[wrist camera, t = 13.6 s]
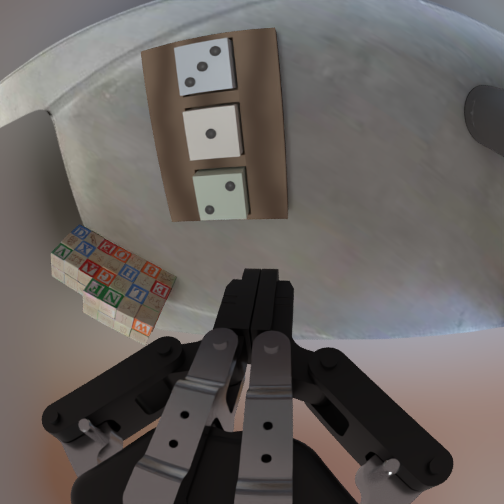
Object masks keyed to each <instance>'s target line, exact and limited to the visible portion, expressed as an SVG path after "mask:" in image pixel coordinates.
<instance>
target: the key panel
mask: <svg viewBox="0 0 504 504" xmlns="http://www.w3.org/2000/svg"><path fill="white" fill-rule="evenodd" d="M222 38H228V39H230V40H231V41H233V48H234V57H235V66H236V76H237V85H238V87H237V88H230V89H221V90H213V91H206V92H200V93H194V94H188V95H182V96H180V91H179V84H178V76H177V69H176V60H175V52H174V48H176V47H180V46H184V45H189V44H194V43H199V42H204V41H210V40H216V39H222ZM141 57H142V65H143V73H144V80H145V87H146V94H147V100H148V106H149V112H150V118H151V124H152V130H153V135H154V140H155V146H156V151H157V156H158V161H159V166H160V171H161V175H162V180H163V184H164V189H165V193H166V198H167V202H168V206H169V211H170V215H171V219H172V222H180V221H206V220H200V215H199V210H198V205H197V199H196V194H195V188H194V183H193V176H194V174H195V173H196V172H197V171H198V170H199V169H210V168H223V167H238V166H246V174H247V184H248V193H249V203H250V210H249V213H248V216H247V219H288V194H287V171H286V151H285V134H284V118H283V104H282V91H281V78H280V67H279V55H278V45H277V35H276V30H275V28H263V29H251V30H242V31H234V32H226V33H220V34H213V35H208V36H202V37H197V38H192V39H187V40H183V41H178V42H174V43H170V44H166V45H162V46H159V47H155V48H152V49H148V50H145V51H142V52H141ZM235 103H239V104H240V114H241V123H242V133H243V142H244V151H243V153H242V154H241V156H240V157H225V158H213V159H202V160H192V161H190V156H189V151H188V144H187V138H186V132H185V126H184V119H183V112H184V111H187V110H190V109H194V108H201V107H209V106H216V105H225V104H235ZM232 220H241V219H232Z"/></svg>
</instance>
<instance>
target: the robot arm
mask: <svg viewBox="0 0 504 504" xmlns="http://www.w3.org/2000/svg"><path fill="white" fill-rule="evenodd" d="M465 119H466V124H467V127H468V130H469V132H470V133H471V135H472V136H473V138H474V139H475V140H476V141H477V142H478V143H480V144H482V145H484V146H486V147H488V148H489V149H491V150H493V151H495V152H496V153H498V154H500V155H501V156H503V157H504V89H500V88H496V87H491V86H486V85H481V86H477V87H476V88H474V89H473V90H472V91H471V92H470V94H469V95H468V97H467V100H466V104H465ZM293 300H294V288H293V286H292V285H291V283H290V281H279V272H278V269H262V270H261V269H244V273H243V276H242V280H238V279H233V280H232V281H231V282H230V283H229V284H228V285H227V286H226V289H225V292H224V297H223V299H222V302H221V305H220V308H219V311H218V315H217V318H216V321H215V324H214V327H213V330H211V331H209V332H208V333H207V334H206V335H205V336H204V337H203V339H202V340H201V341H198V342H193V343H187V344H181V343H180V341H179V340H178V339H176V338H174V337H169V336H166V337H161V338H158V339H157V340H155V341H153V342H152V343H150V344H149V345H147V346H145V347H144V348H142V349H141V350H139V351H138V352H136V353H134V354H133V355H131V356H130V357H128V358H126V359H125V360H123V361H122V362H120V363H118V364H117V365H115V366H113V367H112V368H110V369H109V370H107V371H105V372H104V373H102V374H101V375H99V376H97V377H96V378H94V379H92V380H91V381H89V382H88V383H86V384H84V385H82V386H81V387H79V388H77V389H76V390H74V391H73V392H71V393H69V394H68V395H66V396H64V397H63V398H61V399H59V400H57V401H56V402H54V403H52V404H51V405H49V406H48V407H47V408H46V409H45V411H44V412H43V415H42V424H43V427H44V428H45V430H46V431H48V432H49V433H50V434H52V435H53V436H54V437H56V438H57V439H58V440H59V441H60V442H61V443H62V445H63V447H64V450H65V452H66V454H67V456H68V458H69V461H70V462H71V465H72V467H73V469H74V471H75V473H76V475H77V477H78V478H77V479H76V481H75V482H74V484H73V487H72V490H71V503H72V504H358V503H357V502H356V501H355V499H354V498H353V497H352V496H351V495H350V494H349V492H348V491H347V490H346V489H345V488H344V486H343V485H342V484H341V483H340V482H339V480H338V479H337V478H336V477H335V476H334V474H333V473H332V472H331V471H330V470H329V468H328V467H327V466H326V465H325V463H324V462H323V461H322V460H321V458H320V457H319V456H318V455H317V454H316V452H315V451H314V450H313V449H311V448H310V447H309V446H307V445H306V444H305V443H303V442H301V441H299V440H296V439H294V438H293V403H292V398H296V399H298V400H301V401H304V402H305V404H306V405H307V407H308V408H309V409H310V410H311V411H312V413H313V414H314V415H315V416H316V417H317V418H318V419H319V421H320V422H321V423H322V424H323V425H324V426H325V427H326V428H327V430H328V431H329V432H330V433H331V434H332V435H333V436H334V437H335V439H336V440H337V441H338V442H339V443H340V444H341V445H342V446H343V447H344V448H345V449H346V450H347V452H348V453H349V454H350V455H351V456H352V457H353V458H354V459H355V460H356V461H357V462H358V463H359V464H360V465H361V467H360V468H359V470H358V471H357V473H356V477H355V483H356V486H357V487H358V489H359V490H360V493H361V503H360V504H411V502H413V501H414V500H415V499H416V498H417V497H418V496H419V495H420V494H421V493H422V492H423V491H425V490H427V489H430V488H432V487H435V486H437V485H439V484H441V483H443V482H444V481H445V480H447V478H448V477H449V476H450V474H451V472H452V469H453V458H452V456H451V454H450V453H449V452H448V451H447V450H446V449H445V448H444V447H443V446H442V445H441V444H440V443H439V442H438V441H437V440H435V439H434V438H433V437H432V436H431V435H430V434H429V433H428V432H427V431H426V430H425V429H423V428H422V427H421V426H420V425H419V424H418V423H417V422H416V421H415V420H414V419H413V418H412V417H411V416H409V415H408V414H407V413H406V412H405V411H404V410H403V409H402V408H401V407H400V406H399V405H398V404H397V403H395V402H394V401H393V400H392V399H391V398H390V397H389V396H388V395H387V394H386V393H385V392H384V391H383V390H382V389H381V388H379V387H378V386H377V385H376V384H375V383H374V382H373V381H372V380H371V379H370V378H369V377H368V376H367V375H366V374H365V373H363V372H362V371H361V370H360V369H359V368H358V367H357V366H356V365H355V364H354V363H353V362H352V361H351V360H350V359H349V358H348V357H347V356H346V355H345V354H344V353H342V352H341V351H339V350H338V349H335V348H329V347H328V348H321V349H319V350H317V351H315V352H313V351H310V350H306V349H304V348H302V347H300V346H298V345H297V344H296V343H295V341H294V340H293V338H292V325H293ZM247 364H251V370H250V383H249V389H248V390H247V394H246V401H245V412H244V423H243V431H237V432H233V429H234V417H235V413H236V410H237V406H238V403H239V399H240V395H241V392H242V388H243V385H244V381H245V372H246V367H247ZM159 417H161V418H160V420H159V423H158V425H157V427H156V428H154V429H152V430H150V431H148V432H147V433H146V434H144V435H143V436H141V437H140V438H138V439H137V440H135V441H134V442H132V443H131V444H129V445H128V446H126V447H125V448H123V441H124V440H125V439H127V438H128V437H130V436H132V435H133V434H135V433H136V432H138V431H140V430H141V429H143V428H144V427H146V426H147V425H149V424H150V423H152V422H153V421H155V420H156V419H158V418H159Z"/></svg>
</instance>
